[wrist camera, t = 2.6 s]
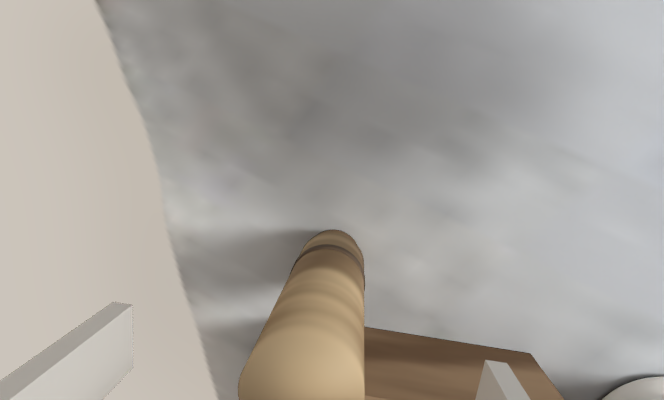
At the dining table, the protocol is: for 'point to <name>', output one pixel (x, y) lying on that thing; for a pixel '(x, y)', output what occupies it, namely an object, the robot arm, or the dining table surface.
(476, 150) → the dining table surface
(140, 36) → the dining table surface
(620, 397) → the jar
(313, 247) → the peg
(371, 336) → the wooden block with hole
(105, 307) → the robot arm
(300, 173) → the dining table surface
